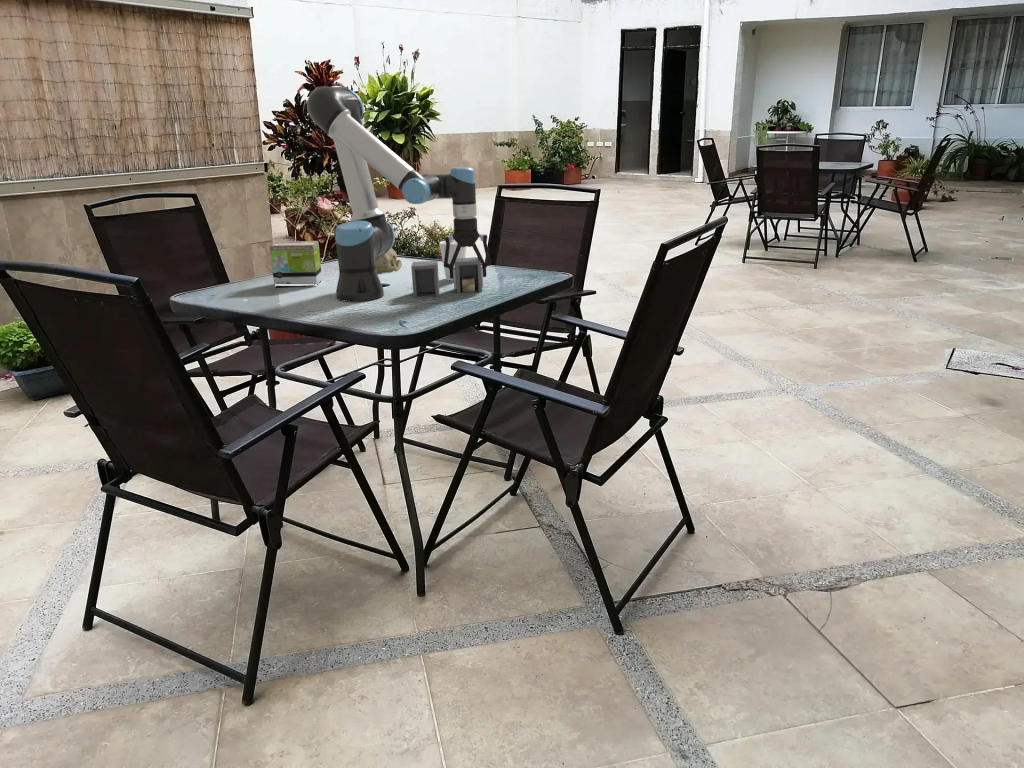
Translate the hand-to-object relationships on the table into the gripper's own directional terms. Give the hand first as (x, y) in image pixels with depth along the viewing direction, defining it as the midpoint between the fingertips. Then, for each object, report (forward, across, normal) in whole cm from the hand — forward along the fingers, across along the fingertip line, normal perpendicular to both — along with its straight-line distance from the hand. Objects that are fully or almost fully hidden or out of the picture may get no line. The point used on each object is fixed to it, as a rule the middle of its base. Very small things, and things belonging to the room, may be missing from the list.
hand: (468, 287), depth 256 cm
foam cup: (+1, -5, +20) cm, 21 cm away
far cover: (+1, 0, 0) cm, 1 cm away
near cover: (+1, -14, -4) cm, 14 cm away
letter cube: (+1, 0, 0) cm, 1 cm away
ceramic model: (+1, -31, +45) cm, 54 cm away
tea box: (+1, -60, +23) cm, 64 cm away
